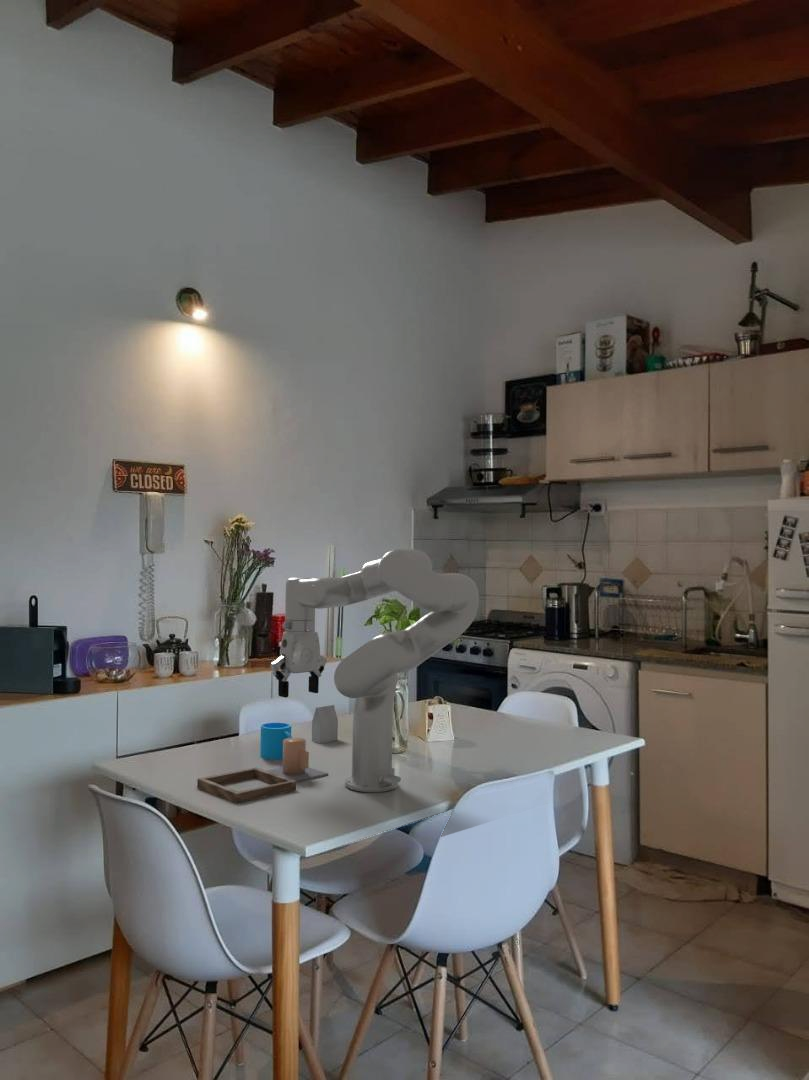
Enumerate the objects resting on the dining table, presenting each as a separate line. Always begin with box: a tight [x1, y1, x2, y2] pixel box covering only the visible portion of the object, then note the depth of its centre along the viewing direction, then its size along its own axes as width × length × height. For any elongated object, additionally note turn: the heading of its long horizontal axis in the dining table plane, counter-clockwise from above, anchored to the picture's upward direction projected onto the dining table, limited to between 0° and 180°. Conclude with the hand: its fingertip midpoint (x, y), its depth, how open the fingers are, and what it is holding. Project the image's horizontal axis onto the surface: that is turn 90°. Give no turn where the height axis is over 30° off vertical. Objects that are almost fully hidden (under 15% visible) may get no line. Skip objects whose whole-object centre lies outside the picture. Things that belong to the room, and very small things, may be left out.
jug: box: [282, 737, 310, 775], centre depth 221 cm, size 8×6×8 cm
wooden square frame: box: [196, 767, 297, 804], centre depth 209 cm, size 16×16×2 cm
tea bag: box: [311, 704, 339, 744], centre depth 261 cm, size 4×7×10 cm, turn 136°
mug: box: [259, 722, 293, 760], centre depth 240 cm, size 12×8×8 cm
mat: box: [265, 766, 329, 783], centre depth 222 cm, size 12×12×1 cm
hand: (298, 694), depth 224 cm, fingers open, 9 cm apart
